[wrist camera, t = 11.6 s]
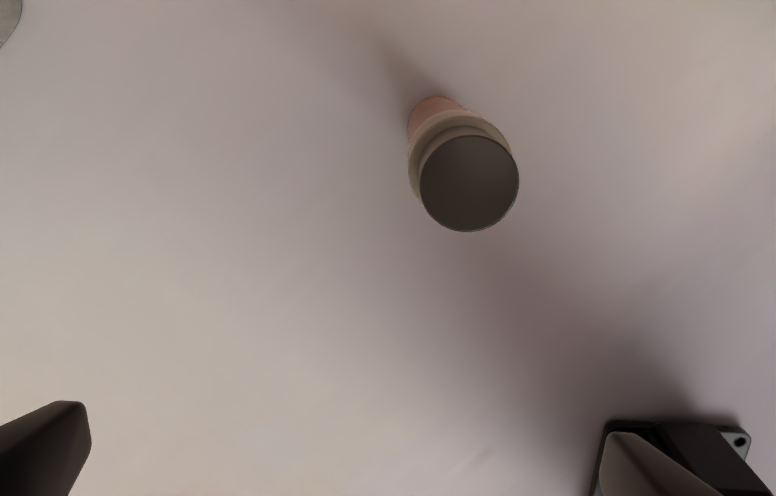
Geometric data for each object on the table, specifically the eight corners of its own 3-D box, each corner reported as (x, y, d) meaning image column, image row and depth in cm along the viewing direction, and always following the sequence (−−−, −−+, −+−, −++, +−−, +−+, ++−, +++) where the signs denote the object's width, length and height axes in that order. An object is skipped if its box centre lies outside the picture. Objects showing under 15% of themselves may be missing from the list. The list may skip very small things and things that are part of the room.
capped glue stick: (464, 157, 20) (522, 245, 10) (405, 154, 20) (405, 239, 10) (469, 96, 19) (538, 126, 9) (408, 93, 19) (412, 120, 9)
